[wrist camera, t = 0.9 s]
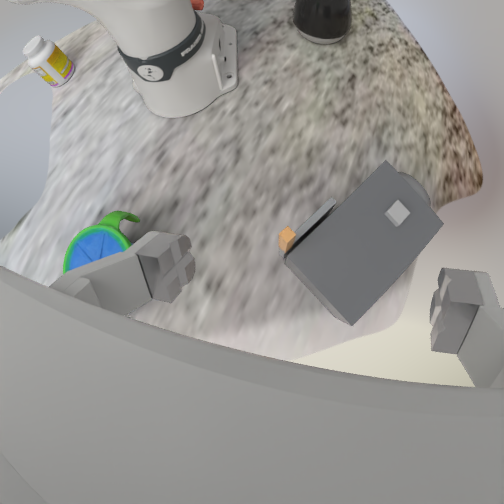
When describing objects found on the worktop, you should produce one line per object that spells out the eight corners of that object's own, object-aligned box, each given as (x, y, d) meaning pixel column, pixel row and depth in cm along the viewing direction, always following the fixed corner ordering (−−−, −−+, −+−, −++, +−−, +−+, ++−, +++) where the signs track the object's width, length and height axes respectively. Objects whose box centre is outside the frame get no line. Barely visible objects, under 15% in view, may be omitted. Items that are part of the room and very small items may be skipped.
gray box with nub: (335, 317, 41) (354, 327, 30) (284, 263, 43) (286, 254, 32) (421, 225, 41) (458, 208, 31) (374, 175, 43) (400, 143, 32)
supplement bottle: (74, 59, 51) (45, 26, 38) (76, 77, 50) (44, 43, 37) (51, 75, 51) (20, 45, 38) (51, 93, 50) (17, 63, 38)
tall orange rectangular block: (283, 260, 42) (287, 242, 26) (278, 254, 42) (278, 234, 26) (325, 220, 42) (351, 181, 26) (320, 215, 42) (343, 173, 26)
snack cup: (120, 212, 45) (85, 194, 35) (180, 233, 44) (153, 218, 34) (89, 307, 44) (49, 310, 34) (145, 335, 43) (111, 347, 33)
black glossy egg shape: (341, 17, 47) (351, -40, 32) (352, 53, 46) (368, -8, 30) (289, 16, 47) (289, -43, 32) (295, 52, 46) (298, -13, 31)
